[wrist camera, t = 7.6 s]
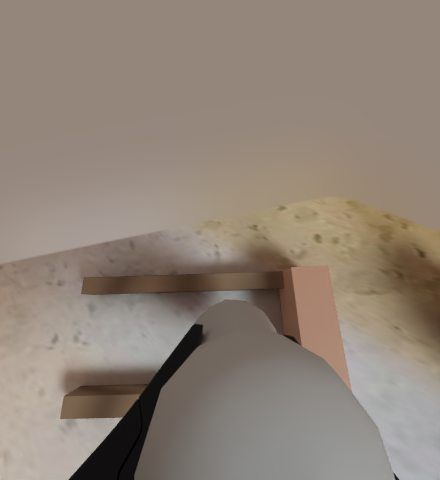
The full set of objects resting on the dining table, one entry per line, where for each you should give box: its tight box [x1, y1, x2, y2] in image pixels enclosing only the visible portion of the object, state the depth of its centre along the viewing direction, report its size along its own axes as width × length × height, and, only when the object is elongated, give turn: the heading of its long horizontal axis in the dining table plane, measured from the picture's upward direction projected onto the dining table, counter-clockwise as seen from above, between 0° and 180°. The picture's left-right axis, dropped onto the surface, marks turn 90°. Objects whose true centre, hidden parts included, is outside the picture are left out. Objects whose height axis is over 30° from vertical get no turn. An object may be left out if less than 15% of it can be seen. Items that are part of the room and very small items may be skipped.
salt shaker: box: [134, 300, 395, 480], centre depth 9 cm, size 6×6×13 cm
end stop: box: [279, 266, 352, 392], centre depth 17 cm, size 3×11×4 cm, turn 2°
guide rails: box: [60, 271, 285, 419], centre depth 18 cm, size 19×11×2 cm, turn 92°
